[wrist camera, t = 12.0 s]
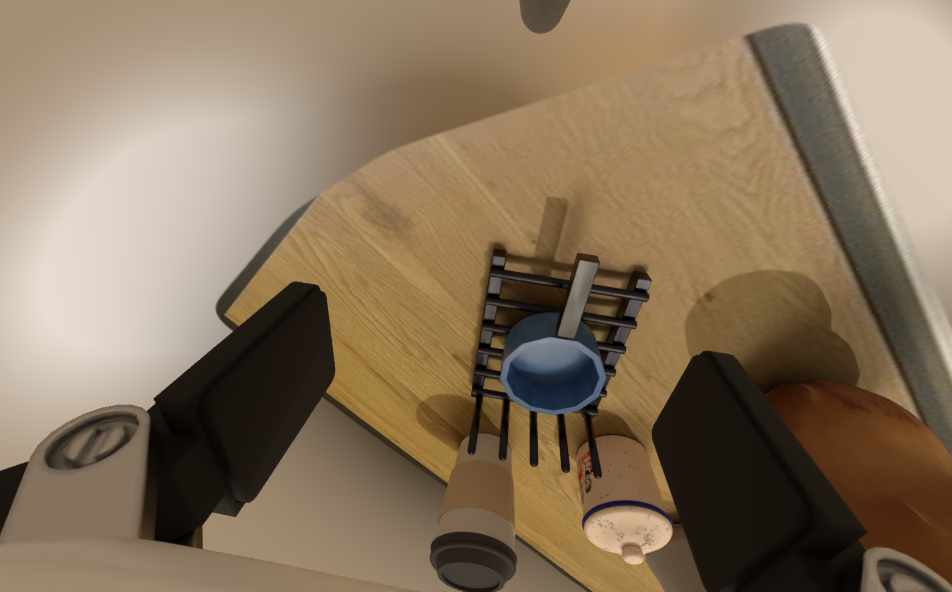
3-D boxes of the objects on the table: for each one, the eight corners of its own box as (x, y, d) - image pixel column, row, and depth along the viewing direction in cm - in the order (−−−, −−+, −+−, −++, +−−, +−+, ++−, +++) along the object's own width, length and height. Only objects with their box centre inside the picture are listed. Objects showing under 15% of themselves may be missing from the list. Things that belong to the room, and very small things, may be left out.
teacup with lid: (574, 431, 44) (588, 533, 34) (653, 433, 42) (692, 540, 32) (572, 488, 50) (583, 590, 40) (642, 492, 48) (671, 598, 38)
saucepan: (527, 230, 29) (527, 250, 26) (637, 247, 29) (653, 271, 25) (497, 375, 38) (494, 406, 34) (582, 390, 37) (588, 423, 34)
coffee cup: (442, 431, 47) (410, 561, 34) (509, 423, 45) (501, 560, 32) (464, 473, 51) (443, 603, 38) (526, 468, 49) (526, 605, 36)
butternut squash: (885, 415, 37) (1373, 870, 16) (747, 458, 43) (968, 836, 21) (839, 327, 33) (1428, 790, 11) (693, 388, 38) (902, 774, 17)
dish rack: (494, 248, 33) (483, 301, 25) (647, 272, 32) (686, 335, 24) (472, 387, 42) (459, 458, 34) (590, 408, 42) (605, 486, 34)
